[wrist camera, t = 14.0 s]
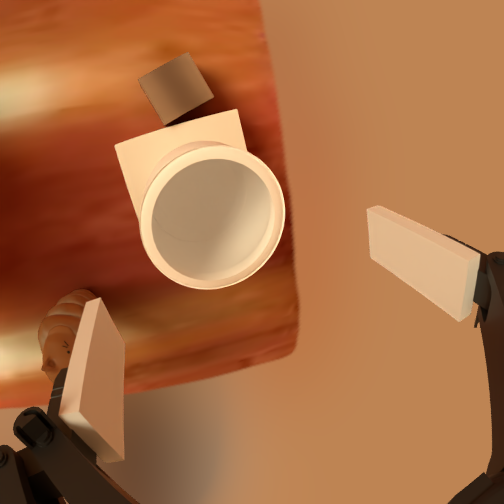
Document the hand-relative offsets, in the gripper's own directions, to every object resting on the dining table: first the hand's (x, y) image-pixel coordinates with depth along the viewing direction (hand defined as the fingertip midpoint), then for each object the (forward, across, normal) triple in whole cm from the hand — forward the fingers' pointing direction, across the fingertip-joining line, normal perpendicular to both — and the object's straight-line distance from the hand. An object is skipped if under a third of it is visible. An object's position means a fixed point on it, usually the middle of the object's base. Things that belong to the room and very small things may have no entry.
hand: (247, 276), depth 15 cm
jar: (+24, 0, 0) cm, 24 cm away
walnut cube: (+29, +1, +11) cm, 31 cm away
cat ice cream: (+29, -19, -11) cm, 36 cm away
